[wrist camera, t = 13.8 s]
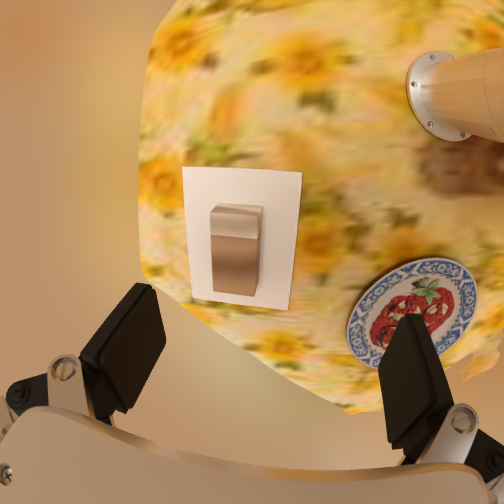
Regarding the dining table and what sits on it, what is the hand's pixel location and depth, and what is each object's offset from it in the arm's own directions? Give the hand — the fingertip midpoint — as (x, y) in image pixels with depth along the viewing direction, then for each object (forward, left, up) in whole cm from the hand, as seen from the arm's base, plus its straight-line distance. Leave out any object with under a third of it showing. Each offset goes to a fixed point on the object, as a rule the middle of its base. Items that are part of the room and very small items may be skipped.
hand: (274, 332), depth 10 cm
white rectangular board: (+7, +11, -28) cm, 31 cm away
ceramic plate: (-24, +22, -29) cm, 43 cm away
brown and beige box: (+7, +11, -28) cm, 31 cm away
